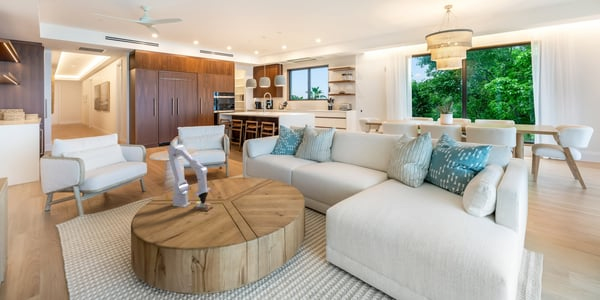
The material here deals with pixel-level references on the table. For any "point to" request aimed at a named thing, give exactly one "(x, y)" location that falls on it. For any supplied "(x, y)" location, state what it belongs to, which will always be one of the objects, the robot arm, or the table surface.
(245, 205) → the table surface
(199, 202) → the cream cube
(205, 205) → the key terracotta
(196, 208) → the brown flat frame
